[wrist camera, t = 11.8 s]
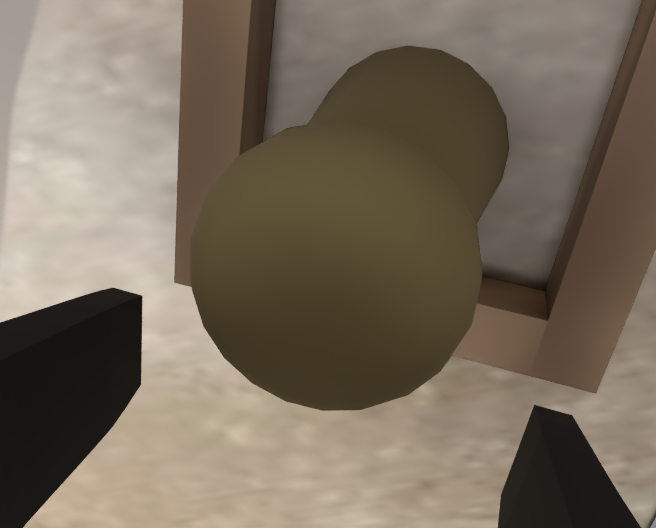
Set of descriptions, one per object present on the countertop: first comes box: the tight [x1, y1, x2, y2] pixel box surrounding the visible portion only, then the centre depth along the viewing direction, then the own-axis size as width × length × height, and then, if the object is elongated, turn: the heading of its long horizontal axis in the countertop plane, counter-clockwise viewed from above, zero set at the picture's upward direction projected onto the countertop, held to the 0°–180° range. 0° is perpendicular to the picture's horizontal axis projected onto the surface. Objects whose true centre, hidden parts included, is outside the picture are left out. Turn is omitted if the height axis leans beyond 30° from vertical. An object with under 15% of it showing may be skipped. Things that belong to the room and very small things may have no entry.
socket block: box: [174, 0, 656, 393], centre depth 18 cm, size 14×14×2 cm
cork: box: [190, 46, 509, 411], centre depth 15 cm, size 6×6×11 cm
